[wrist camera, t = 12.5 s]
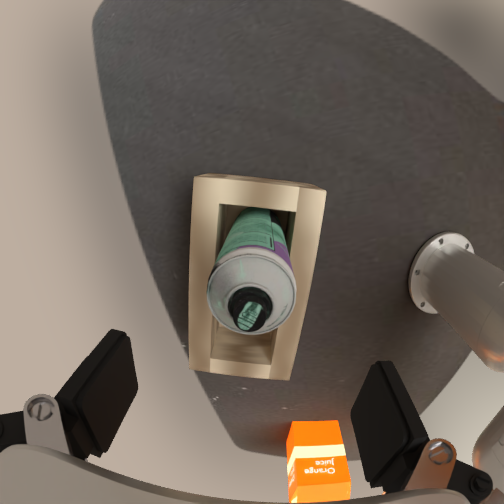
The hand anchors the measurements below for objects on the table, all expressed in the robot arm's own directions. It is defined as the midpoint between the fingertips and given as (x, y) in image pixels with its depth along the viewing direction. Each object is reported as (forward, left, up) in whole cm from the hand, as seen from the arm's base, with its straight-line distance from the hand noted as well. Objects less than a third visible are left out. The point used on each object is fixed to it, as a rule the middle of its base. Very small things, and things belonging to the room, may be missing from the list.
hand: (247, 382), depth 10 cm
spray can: (0, 0, -25) cm, 25 cm away
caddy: (0, +5, -26) cm, 26 cm away
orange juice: (-15, +38, -26) cm, 48 cm away
